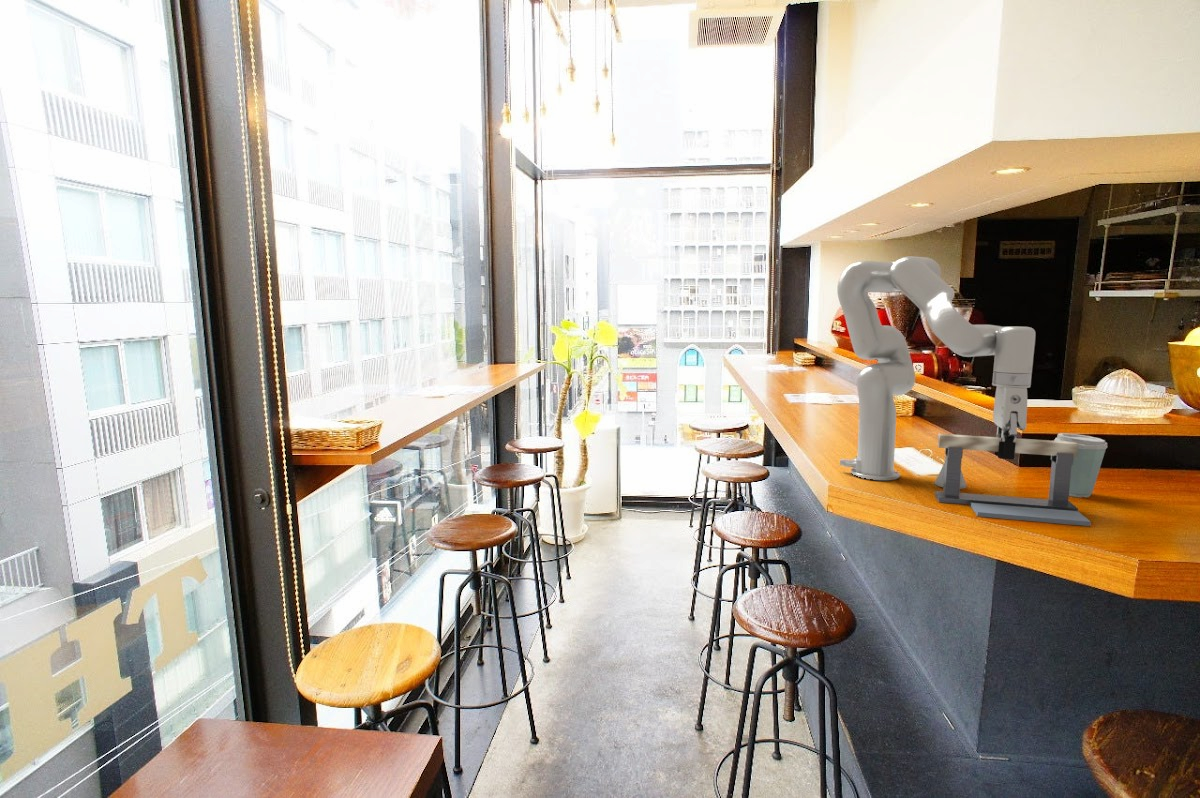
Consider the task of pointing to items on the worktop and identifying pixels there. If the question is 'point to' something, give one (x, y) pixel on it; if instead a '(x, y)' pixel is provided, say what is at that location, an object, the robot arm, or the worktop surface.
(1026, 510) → the mat
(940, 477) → the flask
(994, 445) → the rail
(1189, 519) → the worktop surface
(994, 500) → the grey holder stand
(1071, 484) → the disposable coffee cup
